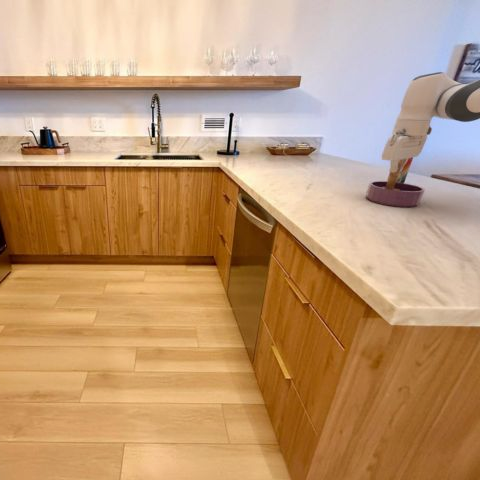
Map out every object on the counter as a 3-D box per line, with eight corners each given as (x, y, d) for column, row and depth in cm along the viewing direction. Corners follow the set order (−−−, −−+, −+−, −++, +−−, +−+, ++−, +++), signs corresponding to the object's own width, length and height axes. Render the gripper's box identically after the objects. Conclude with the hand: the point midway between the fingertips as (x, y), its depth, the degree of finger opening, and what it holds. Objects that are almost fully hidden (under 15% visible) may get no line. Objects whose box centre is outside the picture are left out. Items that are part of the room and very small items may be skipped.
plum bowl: (426, 203, 101) (432, 188, 99) (406, 210, 94) (412, 194, 91) (377, 193, 113) (382, 179, 111) (357, 199, 106) (361, 184, 103)
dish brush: (397, 197, 103) (410, 160, 98) (391, 199, 101) (405, 161, 96) (381, 194, 107) (393, 158, 101) (376, 196, 105) (388, 159, 100)
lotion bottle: (388, 190, 117) (405, 138, 109) (382, 186, 122) (398, 137, 114) (404, 190, 116) (423, 138, 108) (397, 187, 121) (415, 137, 113)
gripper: (407, 131, 87) (391, 176, 93) (434, 129, 97) (418, 170, 102) (383, 129, 92) (370, 173, 98) (412, 128, 102) (398, 167, 107)
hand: (395, 171), depth 100 cm, fingers closed on dish brush, 2 cm apart
